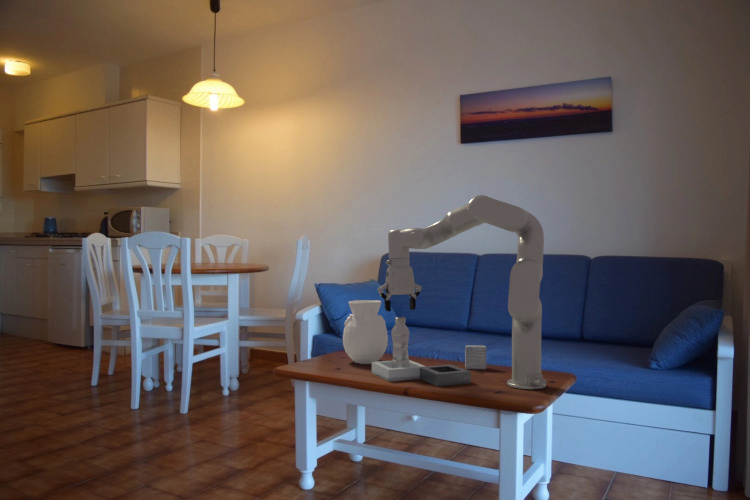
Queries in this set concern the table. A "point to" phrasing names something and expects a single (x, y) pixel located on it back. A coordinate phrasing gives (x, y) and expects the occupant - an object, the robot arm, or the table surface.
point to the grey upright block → (475, 357)
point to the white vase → (365, 332)
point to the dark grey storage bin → (445, 375)
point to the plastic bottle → (400, 343)
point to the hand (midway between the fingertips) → (400, 310)
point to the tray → (396, 371)
